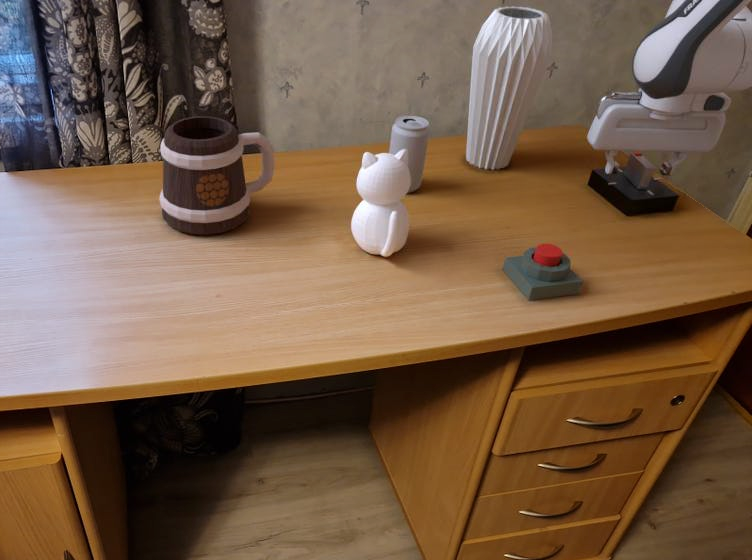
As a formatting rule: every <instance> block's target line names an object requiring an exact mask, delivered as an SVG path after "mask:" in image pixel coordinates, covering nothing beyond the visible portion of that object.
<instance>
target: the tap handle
mask: <svg viewBox="0 0 752 560" xmlns="http://www.w3.org/2000/svg"><path fill="white" fill-rule="evenodd" d="M625 166H626V167H625V170H624V173H623V174H624V175H625V176H626V177H627V178H628V180H629V181H630V182H631V183H632V184H633V185H634V186H635V187H636V188H637V189H647V188H648V185H649V183H650V180H651V178H652V176H653V175H654V173H655V171H656V166H655V165H653V163H651V162H650V161H649V160H648V159H647V158H646V157H645V156H644V155H643V153H642V151H631V152H630V153H629V157H628V160H627V162H626V165H625Z"/></svg>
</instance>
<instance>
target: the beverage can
mask: <svg viewBox="0 0 752 560" xmlns="http://www.w3.org/2000/svg"><path fill="white" fill-rule="evenodd" d="M429 125H430V122H429V121H428V120H427V119H426V118H423V117H422V116H417V115H402V116H398V117H397V118H395V121H394V124H393V126H392V127H391V135H390V143H389V150H388V153H389V154H393V155H396V154H397V153H398V152H399V151H401V150H402V149H407V151H408V156H409V158H408V165H407V167H408V169H409V172H410V177H411V184H410V187H409V190H408V192H407V193H406V194H409V193H413V192H415V191H416V190H419V188H420V187H421V185H422V180H423V176H424V175H423V173H424V168H425V163H426V157H427V151H428V144H429V138H430V132H431V130H430V127H429Z"/></svg>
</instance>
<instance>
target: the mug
mask: <svg viewBox="0 0 752 560" xmlns="http://www.w3.org/2000/svg"><path fill="white" fill-rule="evenodd" d="M253 145H254V146H256V147H257V148H258V149H259V150H260V152H261V160H262V161H261V162H262V170H261V171H262V172H261V175H260V176H259V178H258V179H256V180H254V181H253V180H252V181H249V182H246V178H245V170H244V162H243V153H244V150H245V149H244V148H245V146H246V147H248V146H253ZM159 148H160V149H159V152H160V155H161V157H162V188H161V191H160V193H159V199H158V200H159V204H160V207H161V214H162V218H163V220H164V222H166V224H167V225H169V226H170V227H172V228H173V229H175V230H177V231H179V232H181V233H185V234H190V235H195V236H196V235H197V236H212V235H218V234H222V233H226V232H229V231H232V230H234V229H235V228H237V227H240V225H242V224H243V223H244V222H245V221H246V220H247V218H248V217H249V214H250V203H251V202H250V201H251V194H254V193H257V192H260V191H262V190H264V188H265V187H266V186H267V185H268V184H270V183H271V181H272V180H273V176H274V173H275V172H274V171H275V152H274V151H275V150H274V148H273V146H272V144H271V142H270V141H269V139H268V138H267V137H266V136H265V135H263V134H262V133H260V132H257V131H256V132H244V133H240V134H239V132H238V130H237V128H236V126H234V125H233V124H232V123H230V122H229V121H227V120H226V119H222V118H220V117H214V116H203V115H202V116H200V115H199V116H189V117H185V118H181V119H179V120H176V121H174V122H173V123H172V124H170V125H169V126H168V127H167V128H166V129H165V132H164V136H163V138H162V141H161V143H160V147H159Z"/></svg>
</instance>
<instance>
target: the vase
mask: <svg viewBox="0 0 752 560" xmlns="http://www.w3.org/2000/svg"><path fill="white" fill-rule="evenodd" d="M552 55H553V29H552V25H551V20H550V17H549V14H548V13H547V12H544V11H543V10H539V9H537V8H531V7H524V6H504V7H498V8H495V9H494V10H493V11H492V12H491V13H490V15H489V16H488V17H487V19H486V20H485V22H484V23H483V24H482V25H481V27H480V30H479V32H478V34H477V36H476V38H475V41H474V44H473V46H472V57H471V62H472V63H471V73H470V89H469V103H468V119H467V136H466V149H465V150H466V151H465V152H466V153H465V154H466V155H465V159H466V162H469V165H473V167H478V168H479V169H484V170H489V169H490V170H492V171H494V170H495V169H496V170H500V169H505V167H508V165H509V164H510V161H511V158H512V156H513V153H514V151H515V149H516V146H517V144H518V142H519V139H520V136H521V133H522V131H523V129H524V126H525V124H526V121H527V119H528V116H529V113H530V111H531V108H532V106H533V104H534V101H535V98H536V95H537V92H538V91H539V89H540V86H541V83H542V80H543V78H544V75H545V73H546V71H547V68H548V66H549V62H550V60H551V58H552Z"/></svg>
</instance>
